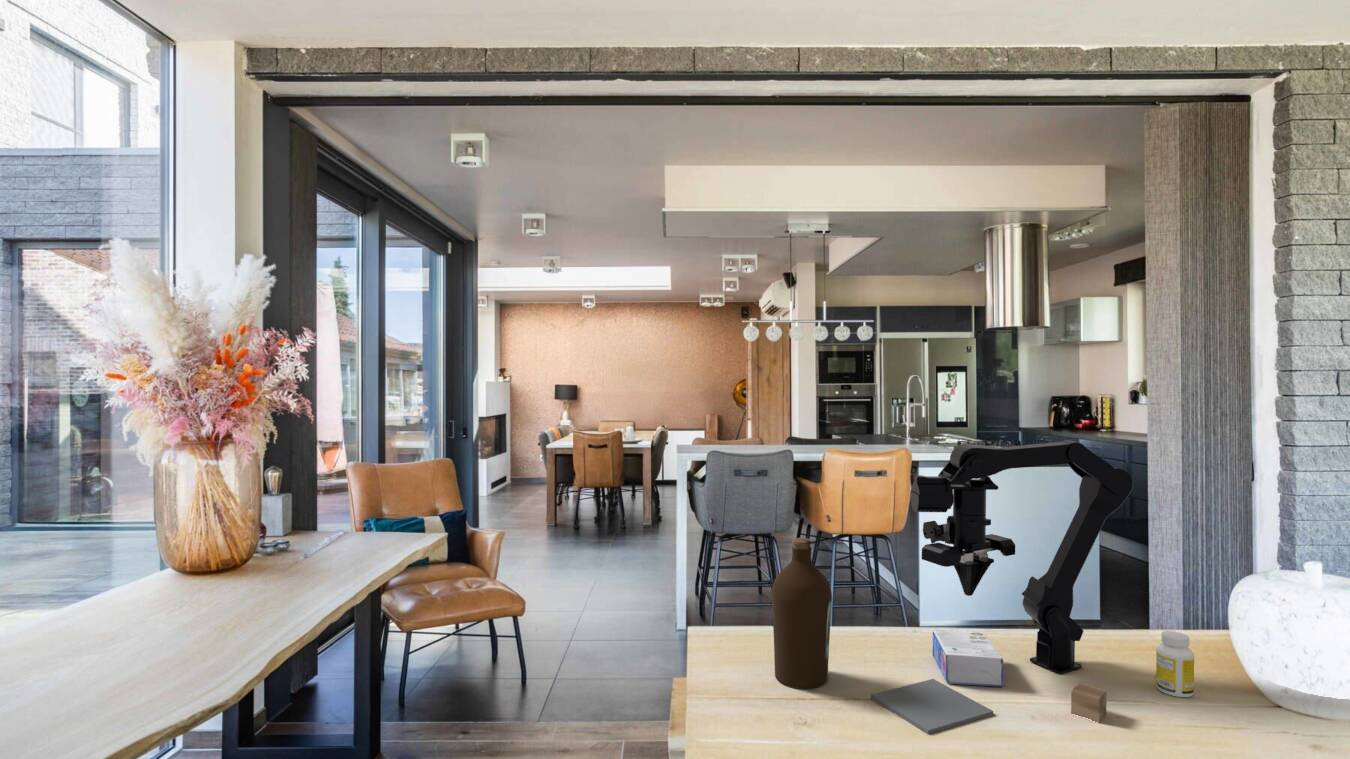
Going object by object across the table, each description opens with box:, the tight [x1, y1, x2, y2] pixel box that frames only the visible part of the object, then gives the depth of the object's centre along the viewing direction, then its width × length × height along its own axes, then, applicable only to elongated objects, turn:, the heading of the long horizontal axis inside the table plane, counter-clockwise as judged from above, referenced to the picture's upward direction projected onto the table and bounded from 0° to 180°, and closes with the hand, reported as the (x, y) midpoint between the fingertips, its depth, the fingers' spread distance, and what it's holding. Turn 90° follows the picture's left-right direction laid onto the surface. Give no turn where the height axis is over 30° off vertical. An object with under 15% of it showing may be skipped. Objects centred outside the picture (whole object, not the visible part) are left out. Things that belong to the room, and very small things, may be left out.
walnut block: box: [1070, 682, 1108, 724], centre depth 118 cm, size 4×4×4 cm
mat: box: [870, 678, 994, 735], centre depth 120 cm, size 14×13×1 cm
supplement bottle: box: [1155, 630, 1195, 698], centre depth 126 cm, size 5×5×10 cm
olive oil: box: [771, 537, 833, 690], centre depth 131 cm, size 11×11×25 cm
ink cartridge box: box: [932, 629, 1004, 688], centre depth 135 cm, size 10×6×14 cm
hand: (968, 595), depth 137 cm, fingers closed
